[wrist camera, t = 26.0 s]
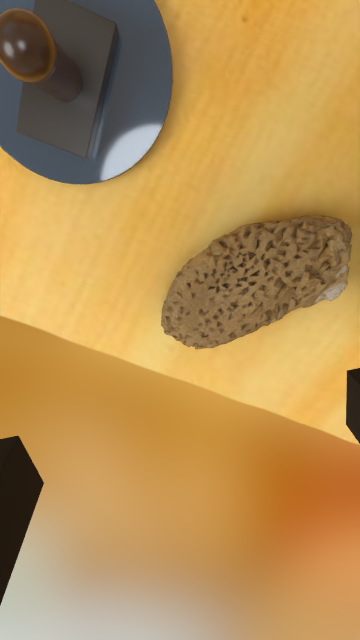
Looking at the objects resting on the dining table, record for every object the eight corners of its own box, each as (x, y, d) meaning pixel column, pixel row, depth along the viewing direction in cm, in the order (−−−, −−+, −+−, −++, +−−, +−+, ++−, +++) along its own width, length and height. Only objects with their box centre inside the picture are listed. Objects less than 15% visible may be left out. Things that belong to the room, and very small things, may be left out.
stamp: (46, 0, 27) (-36, -119, 16) (119, 33, 28) (93, -54, 17) (25, 134, 31) (-53, 117, 19) (91, 158, 32) (53, 157, 21)
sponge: (319, 198, 37) (142, 233, 34) (372, 220, 31) (161, 266, 27) (305, 299, 45) (159, 336, 41) (344, 333, 39) (177, 380, 35)
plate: (145, -91, 26) (145, -102, 25) (188, 162, 34) (189, 162, 33) (-78, -36, 27) (-88, -44, 26) (14, 200, 34) (9, 202, 33)
